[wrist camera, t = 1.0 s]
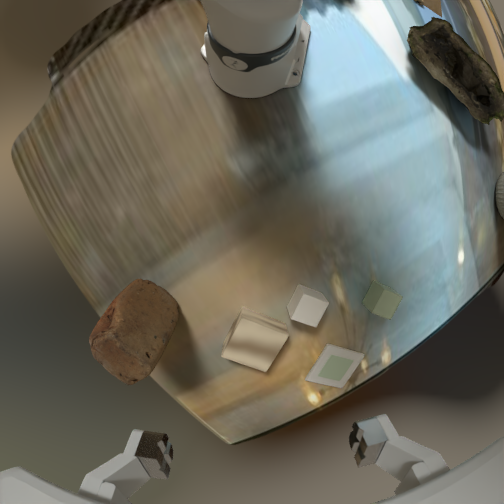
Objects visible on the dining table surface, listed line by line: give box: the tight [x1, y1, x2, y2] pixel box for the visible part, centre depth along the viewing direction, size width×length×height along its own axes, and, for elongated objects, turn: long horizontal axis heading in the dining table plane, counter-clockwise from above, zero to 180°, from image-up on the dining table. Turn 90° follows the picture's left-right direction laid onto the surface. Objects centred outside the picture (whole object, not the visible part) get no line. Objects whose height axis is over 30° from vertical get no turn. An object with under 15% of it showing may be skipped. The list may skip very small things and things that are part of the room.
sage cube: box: [362, 280, 403, 320], centre depth 48 cm, size 5×5×5 cm
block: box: [89, 279, 179, 385], centre depth 39 cm, size 11×8×20 cm
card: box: [305, 343, 365, 388], centre depth 53 cm, size 10×10×1 cm
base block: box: [222, 306, 289, 372], centre depth 49 cm, size 9×9×5 cm
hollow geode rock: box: [407, 17, 504, 125], centre depth 34 cm, size 28×13×15 cm
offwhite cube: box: [287, 284, 329, 327], centre depth 48 cm, size 5×5×5 cm
